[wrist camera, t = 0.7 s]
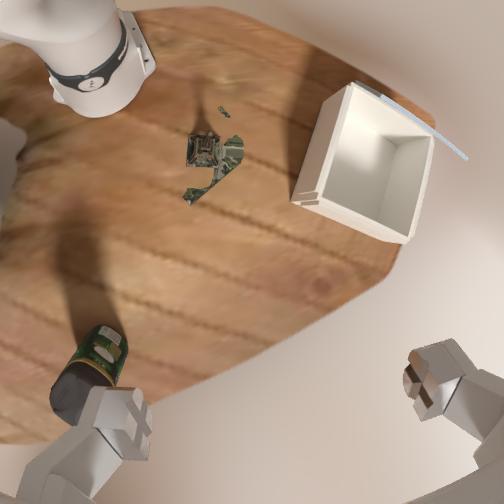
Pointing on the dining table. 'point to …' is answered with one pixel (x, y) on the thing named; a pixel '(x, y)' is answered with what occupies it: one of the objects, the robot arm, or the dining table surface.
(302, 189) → the carton
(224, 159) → the eiffel tower figurine
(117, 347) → the coffee jar
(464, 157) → the lid flap
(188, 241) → the dining table surface
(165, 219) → the dining table surface
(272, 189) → the dining table surface
